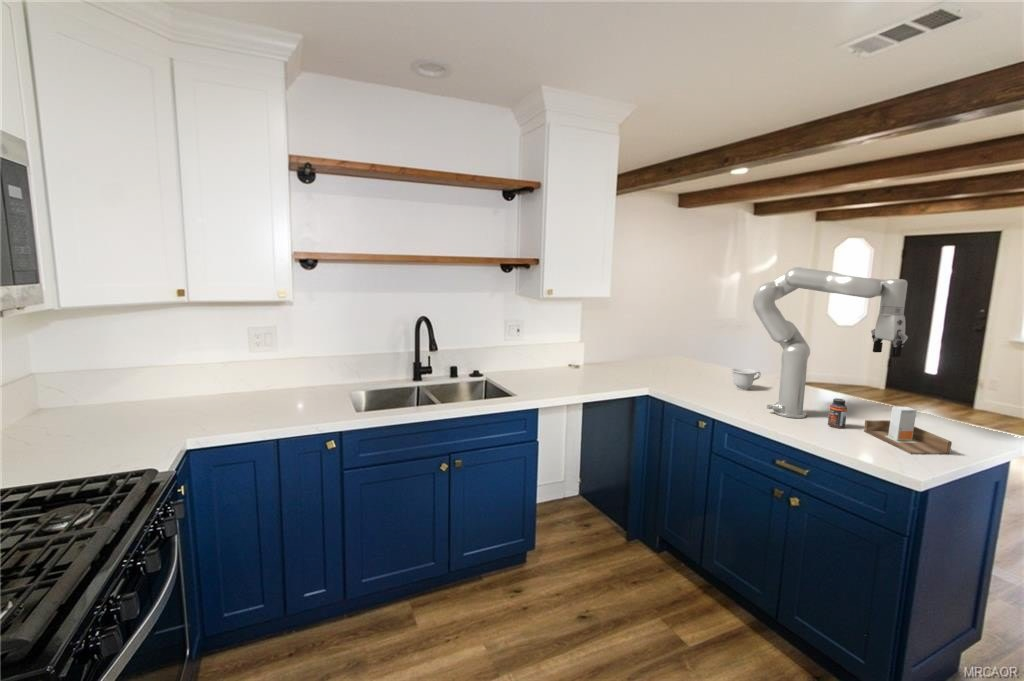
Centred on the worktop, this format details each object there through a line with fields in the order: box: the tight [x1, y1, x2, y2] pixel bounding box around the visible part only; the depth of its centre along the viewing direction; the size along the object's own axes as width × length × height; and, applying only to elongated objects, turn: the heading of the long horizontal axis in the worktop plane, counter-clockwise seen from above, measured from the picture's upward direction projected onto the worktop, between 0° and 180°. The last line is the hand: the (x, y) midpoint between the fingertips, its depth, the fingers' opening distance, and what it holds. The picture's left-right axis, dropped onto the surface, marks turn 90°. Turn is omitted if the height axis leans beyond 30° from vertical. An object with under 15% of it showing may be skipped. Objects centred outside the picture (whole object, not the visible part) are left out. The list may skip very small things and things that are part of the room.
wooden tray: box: [863, 419, 953, 455], centre depth 178 cm, size 14×23×5 cm, turn 179°
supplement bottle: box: [827, 398, 848, 429], centre depth 195 cm, size 6×6×11 cm
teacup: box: [731, 367, 762, 391], centre depth 254 cm, size 12×15×10 cm
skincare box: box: [888, 406, 917, 441], centre depth 179 cm, size 6×4×12 cm
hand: (886, 354), depth 189 cm, fingers open, 9 cm apart
